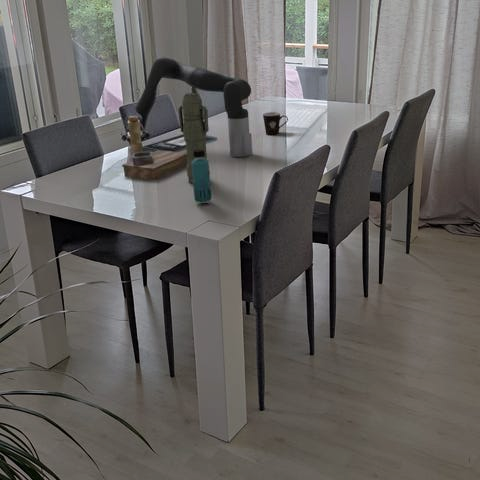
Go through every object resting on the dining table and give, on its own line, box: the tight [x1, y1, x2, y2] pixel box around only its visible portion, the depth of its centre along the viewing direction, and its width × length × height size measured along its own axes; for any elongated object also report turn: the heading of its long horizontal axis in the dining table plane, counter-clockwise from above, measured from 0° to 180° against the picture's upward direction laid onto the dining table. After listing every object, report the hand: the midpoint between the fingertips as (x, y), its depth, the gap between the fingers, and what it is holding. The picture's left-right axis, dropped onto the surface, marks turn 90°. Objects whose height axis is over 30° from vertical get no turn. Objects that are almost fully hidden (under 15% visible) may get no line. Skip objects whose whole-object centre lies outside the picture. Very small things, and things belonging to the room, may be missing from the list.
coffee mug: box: [262, 111, 289, 136], centre depth 338 cm, size 12×9×10 cm
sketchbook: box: [143, 133, 218, 152], centre depth 334 cm, size 22×30×2 cm
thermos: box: [178, 92, 211, 185], centre depth 267 cm, size 9×12×35 cm
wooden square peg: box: [128, 115, 144, 160], centre depth 302 cm, size 5×5×20 cm
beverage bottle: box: [191, 149, 213, 203], centre depth 244 cm, size 6×7×20 cm
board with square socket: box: [121, 150, 188, 181], centre depth 291 cm, size 17×25×8 cm
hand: (135, 139), depth 299 cm, fingers closed on wooden square peg, 5 cm apart
